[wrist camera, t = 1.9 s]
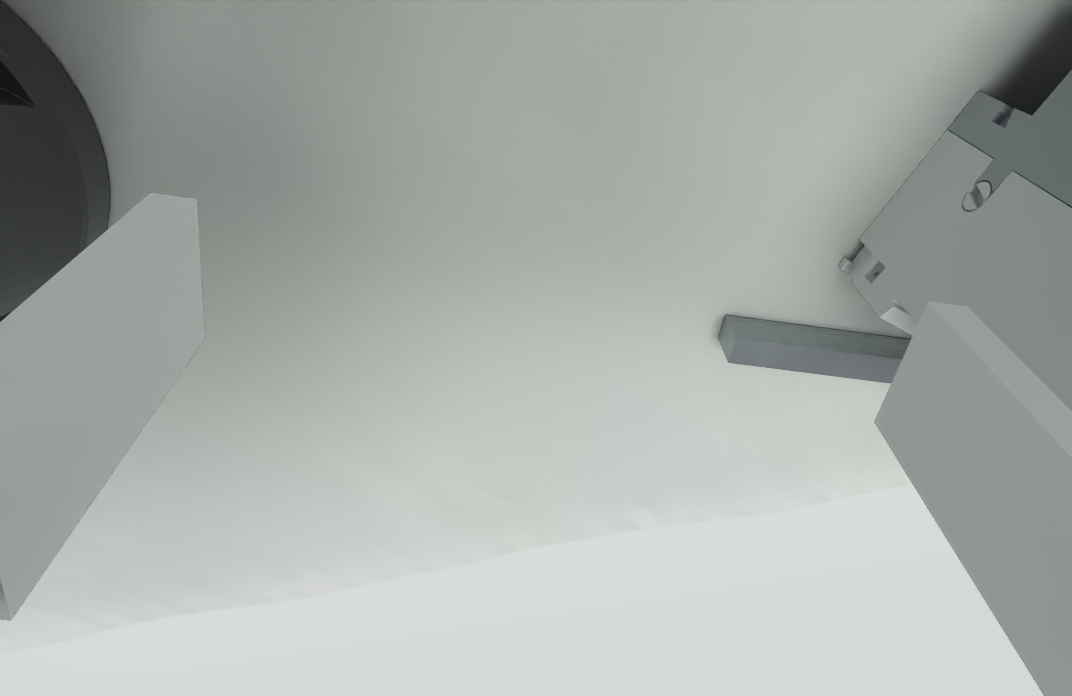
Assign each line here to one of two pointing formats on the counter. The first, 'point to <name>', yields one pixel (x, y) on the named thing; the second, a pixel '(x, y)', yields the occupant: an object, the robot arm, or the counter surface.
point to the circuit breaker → (985, 233)
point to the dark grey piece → (811, 349)
